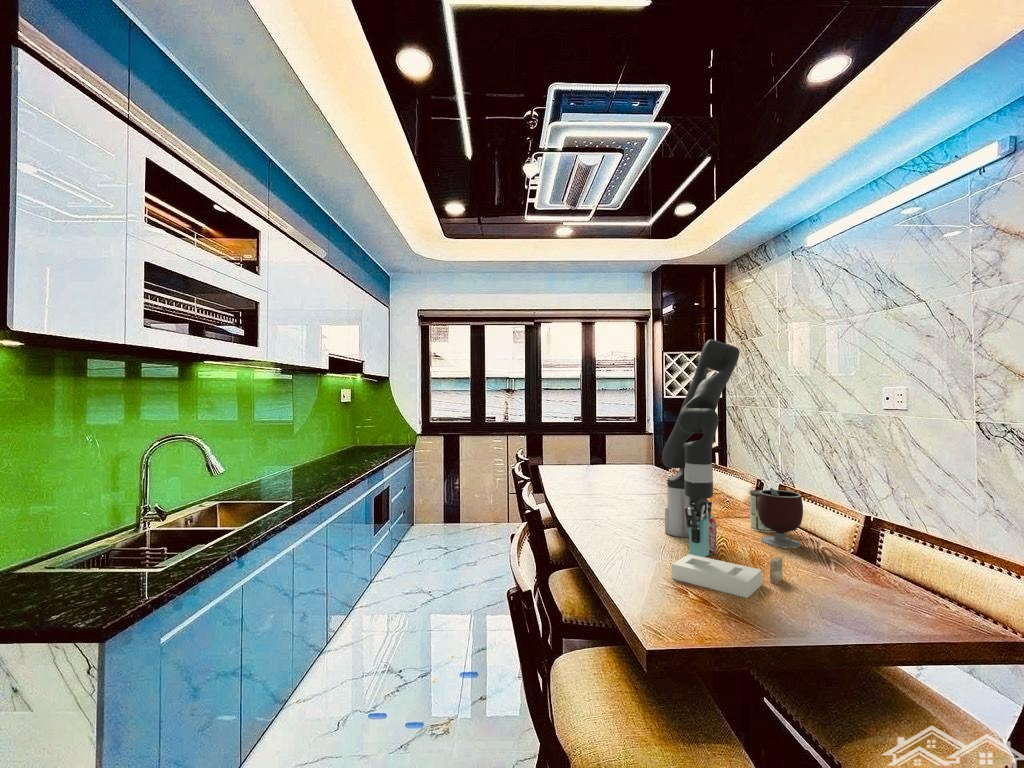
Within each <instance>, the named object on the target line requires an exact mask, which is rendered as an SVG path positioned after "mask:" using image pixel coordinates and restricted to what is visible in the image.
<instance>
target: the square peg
mask: <svg viewBox="0 0 1024 768" xmlns="http://www.w3.org/2000/svg"><path fill="white" fill-rule="evenodd" d="M696 518H699V517H697V516H696ZM693 524H694V522H693ZM688 538H689V542H688V543H689V545H688V546H689V554H691V555H695V556H700V557H705V558H706V557H707V556H709V555H708V554H709V518H703V520H702V521H701V522H700V543H693V542H692V541H691V528H689V537H688Z"/></svg>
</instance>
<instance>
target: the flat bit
mask: <svg viewBox="0 0 1024 768" xmlns="http://www.w3.org/2000/svg"><path fill="white" fill-rule="evenodd" d="M781 579H782V580H783V557H782V556H777V555H775V556H774V557H772V558H771V559H769V582H770V583H771V584H774V583H776V584H775V585H778V584H779V583H780V582H781V581H782V580H781ZM780 580H781V581H780ZM779 581H780V582H779ZM778 582H779V583H778Z"/></svg>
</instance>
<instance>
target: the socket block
mask: <svg viewBox="0 0 1024 768" xmlns="http://www.w3.org/2000/svg"><path fill="white" fill-rule="evenodd" d="M671 579H673V580H677V581H680V582H684V583H688V584H690V585H691V584H692V585H695V586H698V587H699V586H700V587H704V588H707V589H711V590H714V591H715V590H716V591H719V592H722V593H726V594H730V595H735V596H738V597H741V598H746V599H748V598H749V597H751V595H753V594H754V593H755V592H756V591H757V590H758V589H759V588H760V587H761V586H762V585H763V570H762V569H760V568H755V567H751V566H745V565H741V564H737V563H732V562H727V561H722V560H720V559H719V560H718V559H715V558H714V559H713V558H710V557H706V556H705V557H700V556H695V555H691V554H686V555H685V556H682V557H681V558H680V559H678V560H676V561H674V562H673V563H671Z"/></svg>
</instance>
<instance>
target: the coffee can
mask: <svg viewBox="0 0 1024 768" xmlns="http://www.w3.org/2000/svg"><path fill="white" fill-rule="evenodd" d="M761 490H762V489H753V490H750V491H749V496H750V497H749V499H750V503H749V504H750V505H749V506H750V513H749V514H750V517H749V518H750V527H749V528H750V529H751V530H752V529H754V530H753V531H755V530H757V531H756V532H758V531H761V532H760V533H764V532H770V533H769V534H772V533H771V532H775V531H773V530H771V529H769V528H767V527H765V526H764V525H763V523H762V522H761V520H760V518H759V514H758V497H759V492H760V491H761Z"/></svg>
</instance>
